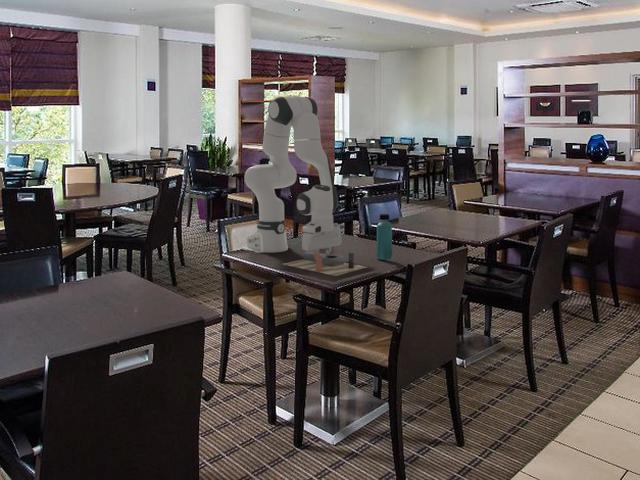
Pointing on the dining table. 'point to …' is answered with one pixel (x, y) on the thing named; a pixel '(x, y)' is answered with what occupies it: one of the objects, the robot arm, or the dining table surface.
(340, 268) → the base board
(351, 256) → the pintle
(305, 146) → the robot arm
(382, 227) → the beverage bottle
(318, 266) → the keeper
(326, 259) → the link
